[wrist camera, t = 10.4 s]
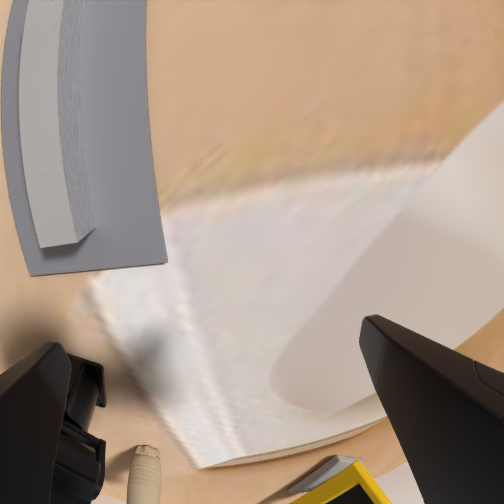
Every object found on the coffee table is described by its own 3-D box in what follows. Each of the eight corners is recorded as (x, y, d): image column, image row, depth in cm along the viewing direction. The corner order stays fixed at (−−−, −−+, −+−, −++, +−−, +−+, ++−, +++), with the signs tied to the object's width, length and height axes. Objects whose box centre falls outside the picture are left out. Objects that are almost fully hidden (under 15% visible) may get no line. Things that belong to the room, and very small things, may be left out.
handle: (150, 436, 27) (141, 549, 13) (176, 459, 29) (175, 558, 16) (118, 438, 27) (102, 542, 13) (146, 461, 29) (139, 554, 16)
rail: (96, 226, 17) (77, 242, 14) (61, 232, 17) (40, 248, 14) (86, -14, 10) (69, -30, 8) (51, 1, 10) (31, -12, 7)
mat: (167, 260, 19) (167, 262, 19) (32, 273, 18) (30, 275, 18) (150, -54, 10) (149, -57, 10) (15, -1, 9) (13, -2, 9)
